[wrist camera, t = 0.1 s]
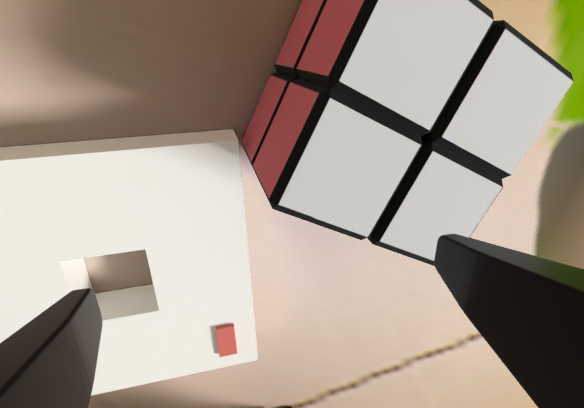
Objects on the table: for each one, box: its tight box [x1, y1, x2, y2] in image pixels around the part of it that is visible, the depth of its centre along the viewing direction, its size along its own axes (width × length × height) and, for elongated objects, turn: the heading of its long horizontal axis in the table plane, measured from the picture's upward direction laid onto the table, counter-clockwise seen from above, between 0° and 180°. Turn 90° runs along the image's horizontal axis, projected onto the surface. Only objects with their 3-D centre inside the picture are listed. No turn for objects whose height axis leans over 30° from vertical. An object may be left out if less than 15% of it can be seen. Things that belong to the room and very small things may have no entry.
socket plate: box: [0, 129, 258, 396], centre depth 22 cm, size 16×16×3 cm
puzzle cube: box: [241, 0, 573, 266], centre depth 19 cm, size 10×10×10 cm
